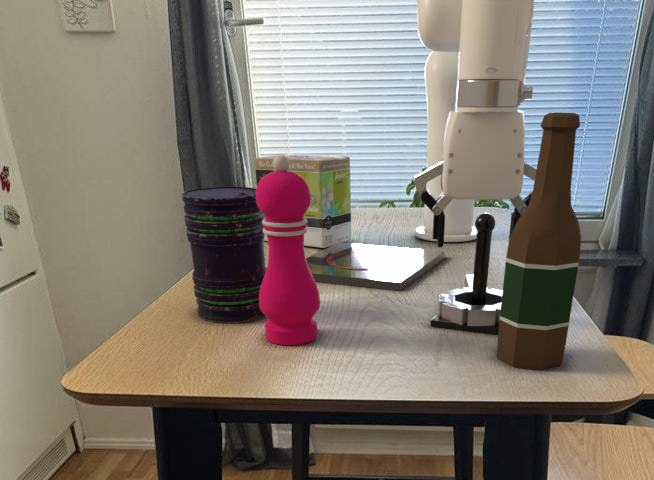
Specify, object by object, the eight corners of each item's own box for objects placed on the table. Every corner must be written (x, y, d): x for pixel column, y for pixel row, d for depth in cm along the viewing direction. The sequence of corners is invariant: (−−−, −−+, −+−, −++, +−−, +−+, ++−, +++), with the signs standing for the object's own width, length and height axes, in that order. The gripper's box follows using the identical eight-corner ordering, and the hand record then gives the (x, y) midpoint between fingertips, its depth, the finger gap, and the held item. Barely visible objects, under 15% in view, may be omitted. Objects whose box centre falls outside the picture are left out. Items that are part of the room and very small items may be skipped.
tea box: (353, 240, 129) (352, 155, 121) (323, 250, 121) (320, 160, 114) (290, 232, 136) (286, 151, 128) (259, 241, 128) (252, 156, 121)
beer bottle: (486, 347, 78) (509, 111, 65) (552, 344, 78) (586, 110, 66) (505, 372, 71) (533, 115, 59) (576, 369, 72) (619, 114, 59)
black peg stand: (452, 305, 92) (458, 204, 85) (521, 313, 88) (533, 209, 82) (430, 326, 84) (435, 217, 78) (504, 335, 81) (517, 222, 74)
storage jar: (182, 318, 88) (164, 196, 80) (222, 298, 95) (209, 185, 88) (248, 326, 84) (236, 200, 77) (284, 305, 92) (276, 188, 85)
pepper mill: (312, 349, 77) (304, 158, 67) (253, 345, 79) (236, 157, 68) (327, 329, 84) (322, 151, 73) (272, 325, 85) (259, 151, 74)
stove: (339, 249, 122) (339, 241, 122) (444, 258, 115) (445, 250, 115) (280, 277, 105) (280, 269, 104) (399, 290, 98) (400, 281, 98)
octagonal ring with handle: (522, 326, 81) (524, 310, 80) (439, 325, 82) (440, 309, 81) (504, 288, 96) (506, 274, 95) (435, 288, 96) (435, 274, 95)
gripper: (554, 97, 83) (537, 240, 92) (415, 98, 84) (411, 239, 93) (566, 98, 77) (546, 251, 86) (416, 99, 78) (411, 250, 87)
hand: (476, 245), depth 89 cm, fingers open, 9 cm apart
